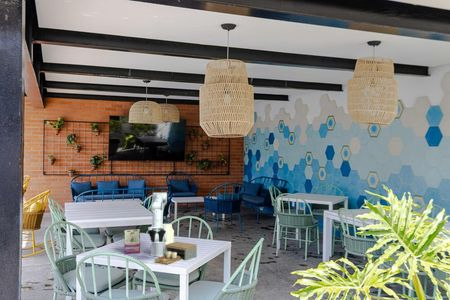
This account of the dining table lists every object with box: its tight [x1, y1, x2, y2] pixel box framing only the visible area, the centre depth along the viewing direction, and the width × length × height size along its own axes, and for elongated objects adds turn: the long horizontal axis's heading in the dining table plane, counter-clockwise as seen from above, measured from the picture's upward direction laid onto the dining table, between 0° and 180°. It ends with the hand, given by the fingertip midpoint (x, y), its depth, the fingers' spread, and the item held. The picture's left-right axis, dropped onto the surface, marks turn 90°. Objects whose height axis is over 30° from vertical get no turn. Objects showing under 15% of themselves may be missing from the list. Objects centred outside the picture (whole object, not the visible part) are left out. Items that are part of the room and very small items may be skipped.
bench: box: [165, 241, 198, 261], centre depth 289 cm, size 18×12×8 cm, turn 58°
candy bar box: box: [123, 228, 141, 255], centre depth 301 cm, size 11×5×16 cm, turn 101°
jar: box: [163, 223, 175, 245], centre depth 331 cm, size 12×10×15 cm
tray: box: [154, 251, 181, 266], centre depth 277 cm, size 10×14×5 cm
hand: (156, 241), depth 269 cm, fingers open, 7 cm apart
